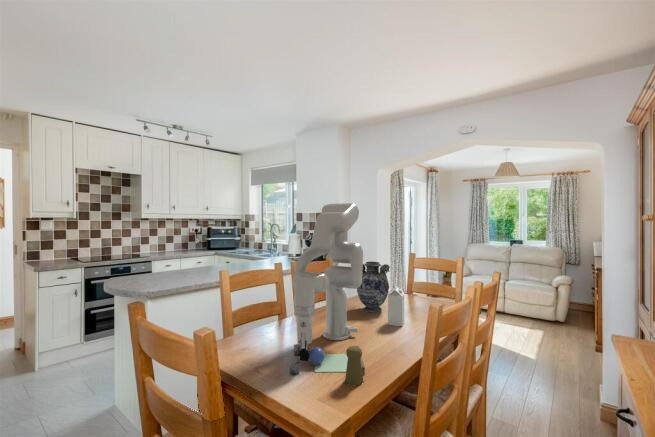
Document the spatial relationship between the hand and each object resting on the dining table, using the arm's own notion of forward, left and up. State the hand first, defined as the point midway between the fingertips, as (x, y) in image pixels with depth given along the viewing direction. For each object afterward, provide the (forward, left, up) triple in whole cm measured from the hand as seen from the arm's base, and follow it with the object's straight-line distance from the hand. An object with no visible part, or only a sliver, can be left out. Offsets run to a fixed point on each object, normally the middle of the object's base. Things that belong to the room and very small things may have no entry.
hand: (304, 359), depth 113 cm
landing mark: (-11, -1, -2) cm, 11 cm away
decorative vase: (-36, -67, -2) cm, 76 cm away
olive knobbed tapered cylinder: (-17, +12, -2) cm, 21 cm away
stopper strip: (-20, -1, -2) cm, 20 cm away
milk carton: (-44, -43, -2) cm, 62 cm away
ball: (-5, 0, +1) cm, 5 cm away
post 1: (+3, -8, -2) cm, 9 cm away
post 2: (+3, +7, -2) cm, 7 cm away
